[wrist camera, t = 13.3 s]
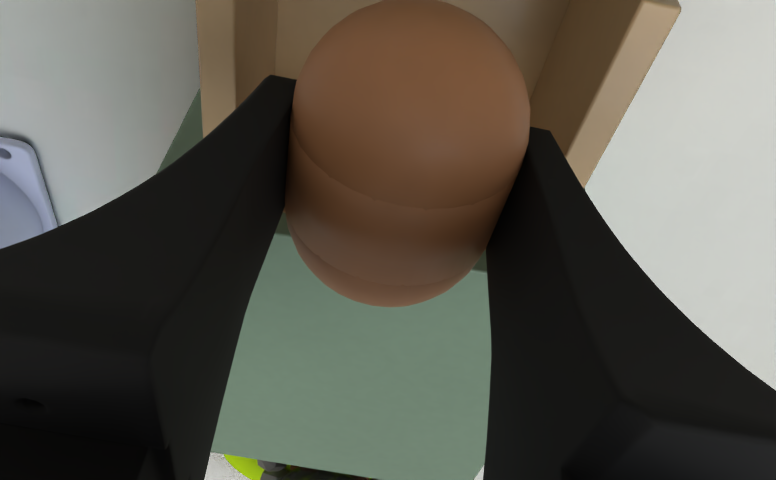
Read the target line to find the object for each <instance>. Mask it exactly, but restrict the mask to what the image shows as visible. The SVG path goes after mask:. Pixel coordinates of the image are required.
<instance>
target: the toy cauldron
mask: <svg viewBox="0 0 776 480" xmlns="http://www.w3.org/2000/svg"><path fill="white" fill-rule="evenodd" d="M224 456H225V458H226V460H227V461H228V462H229V463H230V464H231V465H232V466H233V467H234V468H235V469H236V470H238V471H239V472H240V473H242V474H243V475H245V476H246V477H248V478H249V479H251V480H380V479H374V478H368V477H362V476H356V475H350V474H343V473H337V472H331V471H325V470H319V469H313V468H307V467H300V466H294V465H288V464H282V463H276V462H270V461H263V460H257V459H251V458H245V457H239V456H233V455H227V454H224Z"/></svg>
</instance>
